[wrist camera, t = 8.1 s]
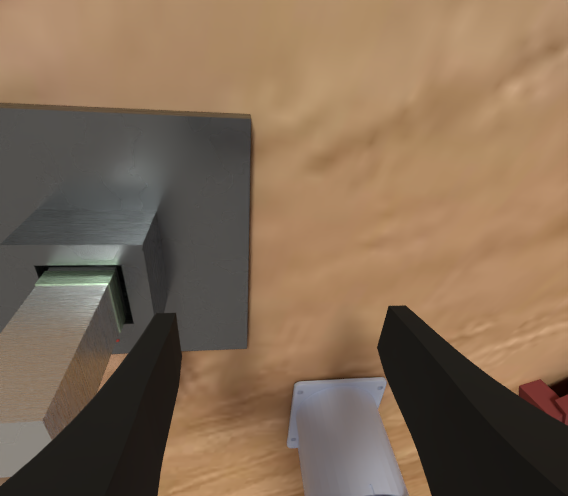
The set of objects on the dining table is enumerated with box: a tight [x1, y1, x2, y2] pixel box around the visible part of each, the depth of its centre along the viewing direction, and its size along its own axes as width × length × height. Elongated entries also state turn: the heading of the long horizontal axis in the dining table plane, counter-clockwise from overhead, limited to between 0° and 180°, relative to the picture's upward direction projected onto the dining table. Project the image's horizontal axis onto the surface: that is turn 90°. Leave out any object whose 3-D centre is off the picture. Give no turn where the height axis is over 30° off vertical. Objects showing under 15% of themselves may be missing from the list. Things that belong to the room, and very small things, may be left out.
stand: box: [0, 103, 251, 354], centre depth 20 cm, size 16×16×4 cm
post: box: [0, 266, 127, 478], centre depth 15 cm, size 3×3×8 cm
